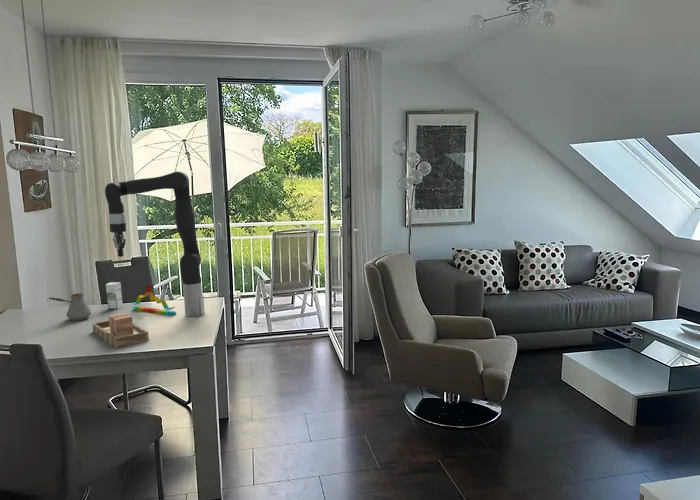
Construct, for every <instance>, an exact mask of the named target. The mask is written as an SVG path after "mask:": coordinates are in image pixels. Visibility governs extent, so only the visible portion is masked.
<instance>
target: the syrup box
mask: <svg viewBox="0 0 700 500" xmlns="http://www.w3.org/2000/svg"><path fill="white" fill-rule="evenodd" d="M105 291H106V299H107V309H108V310H118V309H119V310H120V309H121V308H123V307H124V305H123V295H122V285H121V281H120V282H119V281H118V282H115V281H110V282H108V283H106V284H105Z"/></svg>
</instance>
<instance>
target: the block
mask: <svg viewBox="0 0 700 500" xmlns="http://www.w3.org/2000/svg"><path fill="white" fill-rule="evenodd" d="M108 321H109V324H110V333H112V334H113V335H114V336H116V337H122V336H126V335H131V334H133V323H134V322H133V317H132V315H130V314H128V313H126V312H121V313H115V314H109V315H108Z"/></svg>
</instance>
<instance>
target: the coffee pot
mask: <svg viewBox="0 0 700 500" xmlns="http://www.w3.org/2000/svg"><path fill="white" fill-rule="evenodd" d="M84 296H85V294H84V293H73V294H70V295H69V297H70V299H71V300H69V299H64V298H63V299H62V298H59V297H58V298H57V297H52V296H51V297H47V302H50V301H58V302H65V303H69V305H68V309H67V312H66V317H67V319H69V320H70V321H73V322H75V321H76V322H77V321H83V320H86V319H88V317H90V316H91V314H92V311H91V309H90V307H89V306H88V305H87V302H86V301H85V299H84V298H83V297H84Z"/></svg>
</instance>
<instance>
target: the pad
mask: <svg viewBox="0 0 700 500" xmlns="http://www.w3.org/2000/svg"><path fill="white" fill-rule="evenodd" d="M138 333H140V332H139V331H137V330H136V329H134V328H133V334H138ZM110 334H111V335H112V336H114V335H113V334H112V333H110ZM133 334H131V335H133ZM126 336H129V335H126ZM114 337H115V338H120V337H116V336H114ZM122 337H124V336H122Z"/></svg>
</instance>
